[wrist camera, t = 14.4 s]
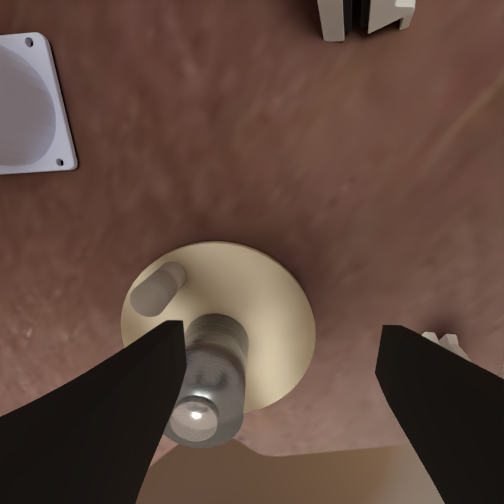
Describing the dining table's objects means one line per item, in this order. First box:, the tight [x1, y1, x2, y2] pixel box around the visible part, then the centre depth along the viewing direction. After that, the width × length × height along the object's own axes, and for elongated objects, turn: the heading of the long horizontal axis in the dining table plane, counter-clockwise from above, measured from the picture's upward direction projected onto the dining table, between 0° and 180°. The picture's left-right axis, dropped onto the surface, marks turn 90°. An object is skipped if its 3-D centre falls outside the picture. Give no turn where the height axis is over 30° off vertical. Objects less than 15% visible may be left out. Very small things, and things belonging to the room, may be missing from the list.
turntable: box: [121, 241, 316, 413], centre depth 17 cm, size 15×15×5 cm
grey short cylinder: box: [163, 313, 249, 448], centre depth 15 cm, size 5×5×7 cm
